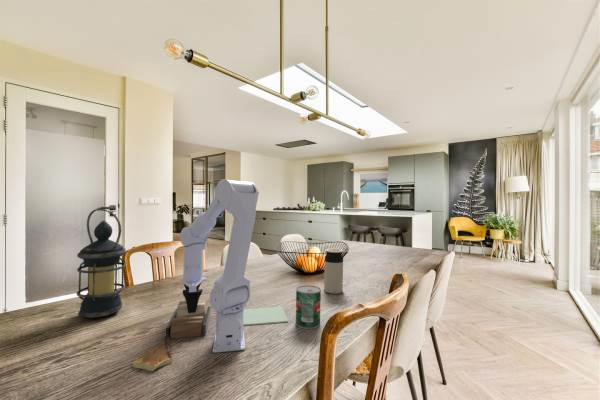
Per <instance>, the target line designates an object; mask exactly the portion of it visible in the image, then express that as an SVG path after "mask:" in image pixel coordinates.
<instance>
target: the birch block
mask: <svg viewBox="0 0 600 400" xmlns="http://www.w3.org/2000/svg"><path fill="white" fill-rule="evenodd" d="M176 306H177V307H176V309H177V318H182V317H197V316H203V323H204V320H205V316H206V312H207V299H199V300H198V305H197V309H196V312H195V313H188V310H187V303H186V300H180V301H179V302H178V305H176Z"/></svg>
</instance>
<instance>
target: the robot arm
mask: <svg viewBox="0 0 600 400" xmlns="http://www.w3.org/2000/svg"><path fill="white" fill-rule="evenodd" d="M259 194H260V192H259V190H258V188H257V186H256V185H255V183H254V182H253V181H246V180H245V181H244V180H233V179H232V180H231V179H226V178H222V179H220V180H219V182H218V183H217V185H216V186H215V188H214V197H213V199H212V200H211V202H210V204H209V205H208V207H207V208H206V210H205V211H201V212H199V213H198V215H197V217H196V218H195V219H194V220H193V222H192V223H191V224H190V225H189V226H187V227H183V228H182V229H181V232H180V236H179V237H180V243H181V245H182V246H183V263H182V264H183V268H182V269H183V270H182V280H181V282H182V285H183V286H184V288H185V289H182V295H183V297H184V299H185V300H184V301H186V303H187V310H188V313H195V312H196V309H197V305H198V300H200V297H201V296H202V293H203V289H199V288H200V287H201V286H202V283H203V282H206V281H207V278H206V276H204V277H203V267H204V266H203V265H204V261H203V260H204V258H203V257H204V250H205V249H206V243H207V241H208V235H209V233H210V232H211V231H212V230H213V228H214V227H215V226H216V224H217V218H218V217H219V216H220V215H221V214H222V212H224V210H226V211H227V212H228V213H229V214H231V215H232V217H233V221H232V228H231V233H230V237H229V242H228V246H227V248H228V249H227V253H226V260H225V263H224V264H225V265H224V270H223V273H222V274H221V275H220V276H219V277H217V279H216V280H215V281H214V285H213V287H212V289H211V291H210V294H209V303H210V307H211V308H212V309H213V310H214V312H216V313H215V314H216V317H215V318H216V321H215V325H216V326H215V334H214V341H213V347H212V353H224V352H225V353H226V352H235V351H243V350H245V349H246V344H245V343H246V342H245V341H246V339H245V331H244V326H243V314H244V309H245V308H246V306H247V302H248V301H249V300H250V299H251V289H250V288H251V286H250V285H251V280H250V279H249V277H248V276H246V275H245V272H246V269H247V268H246V267H247V262H248V258H249V252H250V246H251V242H252V238H253V237H252V236H253V231H254V227H255V223H256V222H255V221H256V218H257V217H256V216H257V204H258V200H259Z"/></svg>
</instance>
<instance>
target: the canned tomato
mask: <svg viewBox="0 0 600 400" xmlns="http://www.w3.org/2000/svg"><path fill="white" fill-rule="evenodd" d="M321 291H322V289H321V287H319V286H316V285H309V284H308V285H307V284H306V285H305V284H304V285H299V286H297V287H296V289H295V293H296V294H295V325H296V326H297V327H298V328H301V329H305V330H312V329H316V328H319V326H320V325H321V305H322V304H321V302H322V301H321V299H322V298H321V296H322V292H321Z"/></svg>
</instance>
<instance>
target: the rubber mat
mask: <svg viewBox="0 0 600 400" xmlns="http://www.w3.org/2000/svg"><path fill="white" fill-rule="evenodd" d="M283 323H289V319H288V317H287V314H286V312H285V310H284V308H283V306H275V307H259V308H244V314H243V327H246V326H256V325H269V324H283Z"/></svg>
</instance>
